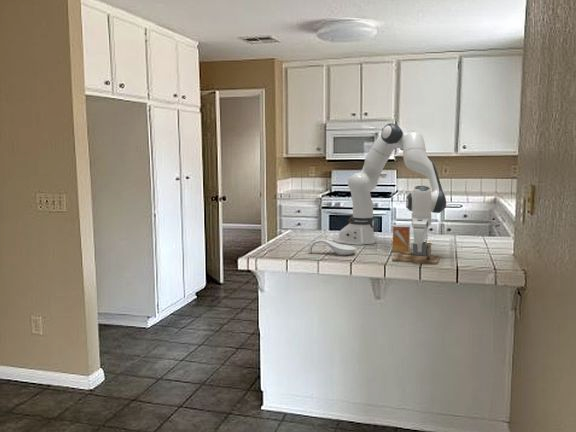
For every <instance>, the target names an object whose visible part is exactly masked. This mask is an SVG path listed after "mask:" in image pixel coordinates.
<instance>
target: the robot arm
mask: <svg viewBox="0 0 576 432" xmlns="http://www.w3.org/2000/svg"><path fill="white" fill-rule="evenodd" d="M395 149H400V150H401V151H402V155H403V157H402V158H403V162H404V165H405V167H406V168H407V169H409V170H410V171H412V172H415V173H418V174H421V175H424V176H425V177H426V178H427V179H428V180H429V184H430V187H429V186H427V185H417V186H415V187H413V190H412V192H409V193H408V195H406V203H405V205H406V206H405V208H406V209H407V210H408V211H410V212H411V227H412V229H413V230H412V232H413V233H412V235H413V243H415V244H417V247H418V252H422V244H423V242H426V239H427V238H428V230H429V227H431V226H432V213H433V214H434V213H435V214H440V213H441V212H443V211H444V210H445V209H446V208H447V198H446V195H445V193H444V191H443V188H442V184H441V182H440V178H439V174H438V171H437V167H436V165H435V163H434V162H433V161H431V160H430V159H429V158H428V155H427V148H426V143H425V140H424V137H423V135H422V134H421V133H420V132H418V131H414V130H411V129H409V128H408V127H405V126H403V125H398V124H397V123H393V122H392V123H391V122H390V123H387V124H386V125H385V126H384V127H383V128H382V130H381V133H380V135H379V136H378V137H377V139H376V140H375V141H374V142H373V144H372V146H371V148H370V149H369V151H368V153H367V154H366V156H365V158H364V164H363V166H362V169H361V171H359V172H356V173H353V174H352V175H351V176H350V177H349V178H348V179H347V180H348V181H347V187H348V188H349V191H350V195H351V199H352V216H350V217H349V219H348V222H349V223H348V224H347V225H345V226H344V227H342V228H341V229H340V231H339V235H338V237H337V238H335V239H334V242H335V243H338V244H344V245H345V244H347V245H356V246H361V245H362V246H363V245H372V244H375V243H376V238H375V233H374V226H375V219H374V214H373V213H374V203H373V200H372V195H371V191H373V190H374V189H376V187H377V186H378V183H379V179H380V177H381V174H382V171H383V169H384V168H385V166H386V164H387V163H388V161H389V159H390V158H391V156H392V154H393V151H394V150H395Z"/></svg>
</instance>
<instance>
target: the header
mask: <svg viewBox="0 0 576 432" xmlns="http://www.w3.org/2000/svg"><path fill="white" fill-rule="evenodd" d="M440 259H441V255H432V243H431V242H427V256H413V251H409V252H402V251H401V252H398V253H397V252H396V254H395V256H393V258H392V259H391V261H392V262H395V261H396V262H397V263H398V262H399V263H409V262H412V263H413V264H423V263H425V264H427V265H438V264H439V261H440ZM425 264H424V265H425Z"/></svg>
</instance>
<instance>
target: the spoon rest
mask: <svg viewBox="0 0 576 432" xmlns="http://www.w3.org/2000/svg"><path fill="white" fill-rule="evenodd" d="M319 243H322V244H325V245H327V246H328V247H329V248H330V249H331V250H332V251H333V252H334V253H335V254H336V255H337V256H350V255H353V254H354V253H355V252H356V251H357V247H355V246H352V245H349V244H347V245H345V244H343V243H336V242H335V241H334V242H333V241H331V240H327V239H321V238H320V239H317V240H314V241H313V242H312V243H311V244H310V245H309V248H308V253H307V254H309V255H310V254H312V252H313V248H314V246H315V245H317V244H319Z"/></svg>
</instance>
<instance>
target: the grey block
mask: <svg viewBox="0 0 576 432" xmlns="http://www.w3.org/2000/svg"><path fill="white" fill-rule="evenodd" d="M427 243H428V242H427V241H424V242H423V244H422V252H418V247H417V244H415V243H414V242H413V243H412V252H413V256H427Z"/></svg>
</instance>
